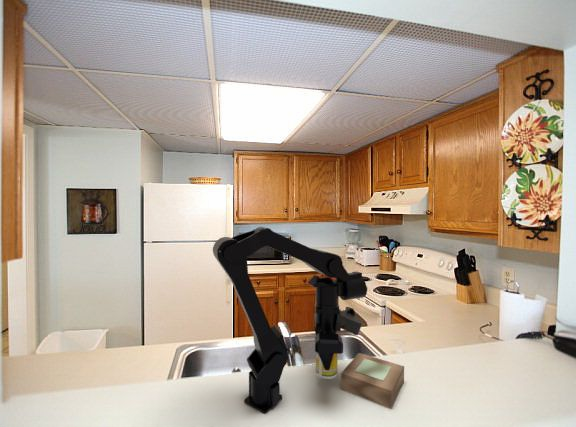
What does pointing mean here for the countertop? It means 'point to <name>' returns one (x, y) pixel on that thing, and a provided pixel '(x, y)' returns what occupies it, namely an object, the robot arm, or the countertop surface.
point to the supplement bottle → (326, 373)
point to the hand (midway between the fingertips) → (326, 363)
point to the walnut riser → (373, 379)
